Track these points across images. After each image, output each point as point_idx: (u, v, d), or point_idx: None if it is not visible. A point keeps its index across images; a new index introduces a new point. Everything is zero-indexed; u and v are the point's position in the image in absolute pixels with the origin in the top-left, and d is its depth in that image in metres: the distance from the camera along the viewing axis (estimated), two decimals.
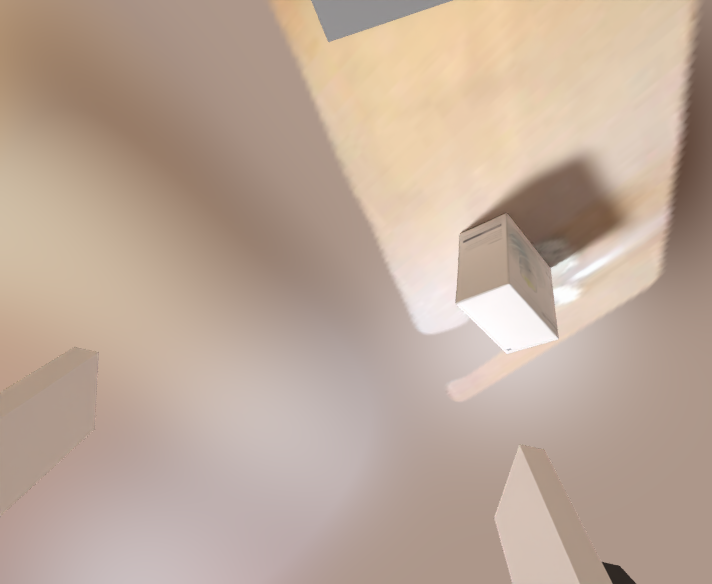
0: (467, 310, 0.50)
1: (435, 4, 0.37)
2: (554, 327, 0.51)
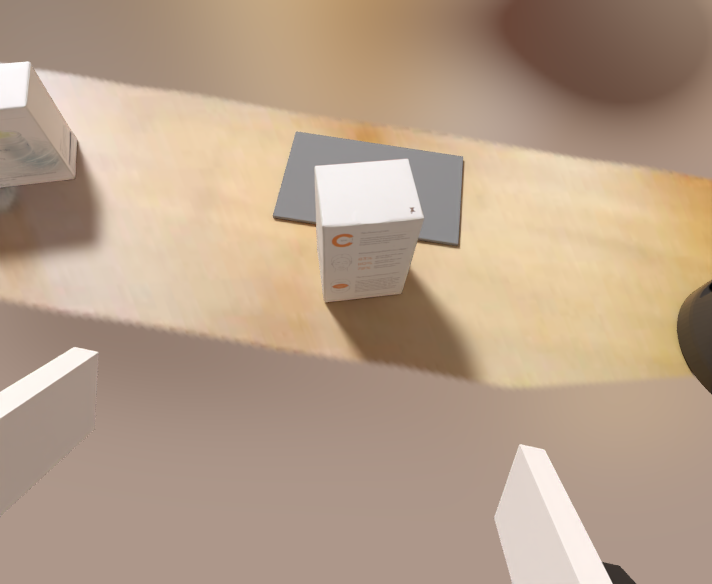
0: (12, 65, 0.46)
1: (280, 192, 0.54)
2: None
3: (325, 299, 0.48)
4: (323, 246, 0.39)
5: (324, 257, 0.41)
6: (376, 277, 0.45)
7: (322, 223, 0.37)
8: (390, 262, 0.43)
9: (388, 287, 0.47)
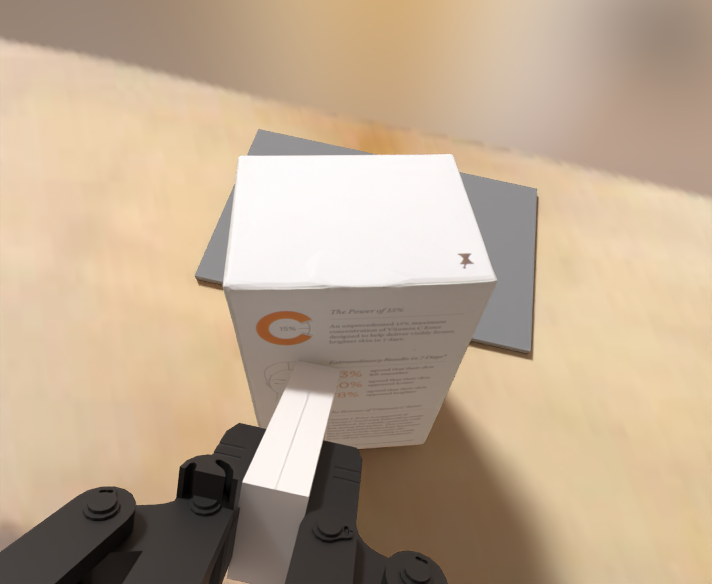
0: None
1: (215, 233, 0.30)
2: None
3: None
4: (238, 341, 0.16)
5: (246, 367, 0.17)
6: (373, 415, 0.21)
7: (225, 279, 0.14)
8: (403, 385, 0.19)
9: (398, 432, 0.23)
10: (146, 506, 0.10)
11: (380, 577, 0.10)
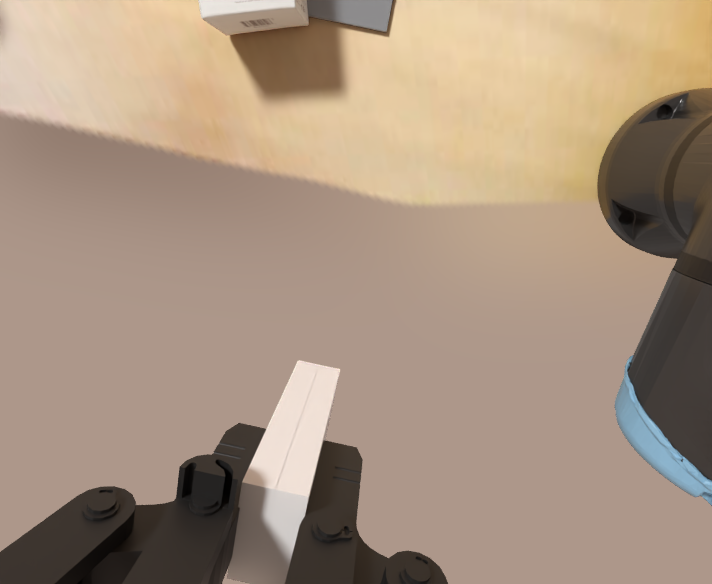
0: None
1: None
2: None
3: (200, 8, 0.39)
4: None
5: None
6: None
7: None
8: None
9: None
10: (145, 505, 0.10)
11: (380, 577, 0.10)
